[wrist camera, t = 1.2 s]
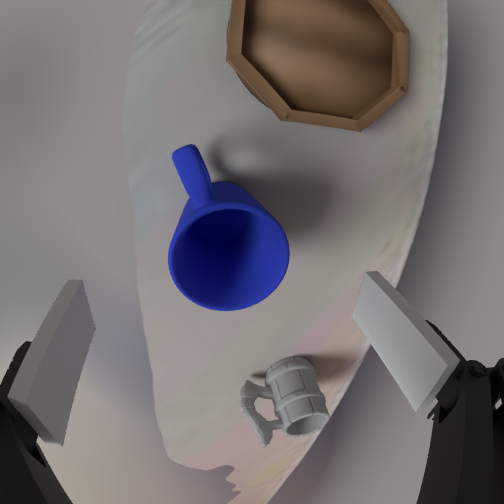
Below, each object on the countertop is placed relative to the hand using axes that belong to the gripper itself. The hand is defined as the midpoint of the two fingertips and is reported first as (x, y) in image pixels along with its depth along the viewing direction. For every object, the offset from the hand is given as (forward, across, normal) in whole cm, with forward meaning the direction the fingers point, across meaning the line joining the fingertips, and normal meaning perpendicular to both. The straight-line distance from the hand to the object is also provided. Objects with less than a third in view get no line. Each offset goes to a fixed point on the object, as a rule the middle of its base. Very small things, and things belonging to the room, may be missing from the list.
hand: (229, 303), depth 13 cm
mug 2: (+17, +9, -26) cm, 32 cm away
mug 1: (+17, 0, 0) cm, 17 cm away
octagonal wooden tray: (+16, +9, +16) cm, 25 cm away
